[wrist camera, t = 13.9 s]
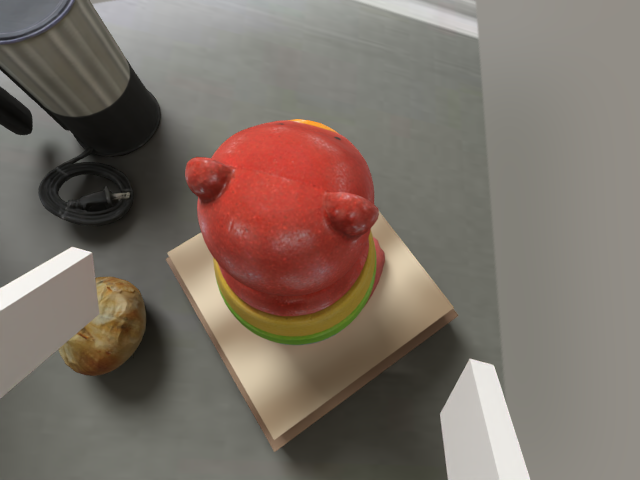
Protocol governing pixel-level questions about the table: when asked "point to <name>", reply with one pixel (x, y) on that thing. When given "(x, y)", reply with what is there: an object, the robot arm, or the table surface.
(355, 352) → the stepped wooden block
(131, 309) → the onion
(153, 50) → the table surface
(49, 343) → the robot arm
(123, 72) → the milk frother
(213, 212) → the stacking bear
